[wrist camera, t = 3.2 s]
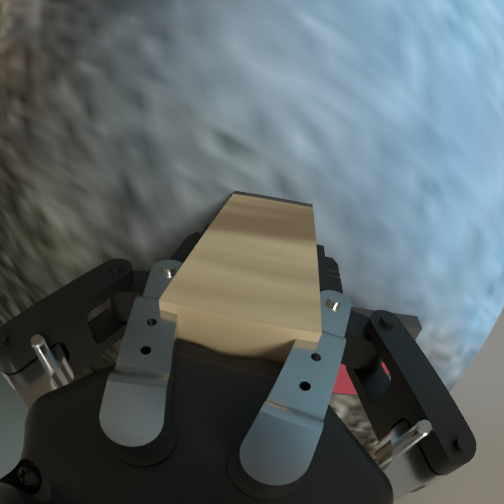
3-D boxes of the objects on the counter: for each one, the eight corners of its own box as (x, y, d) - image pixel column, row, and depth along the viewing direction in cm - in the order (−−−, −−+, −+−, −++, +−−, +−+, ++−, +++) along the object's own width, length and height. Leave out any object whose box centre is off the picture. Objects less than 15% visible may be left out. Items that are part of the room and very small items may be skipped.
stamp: (235, 190, 14) (158, 300, 7) (312, 204, 14) (321, 333, 6) (228, 257, 16) (170, 387, 9) (297, 270, 16) (286, 412, 8)
